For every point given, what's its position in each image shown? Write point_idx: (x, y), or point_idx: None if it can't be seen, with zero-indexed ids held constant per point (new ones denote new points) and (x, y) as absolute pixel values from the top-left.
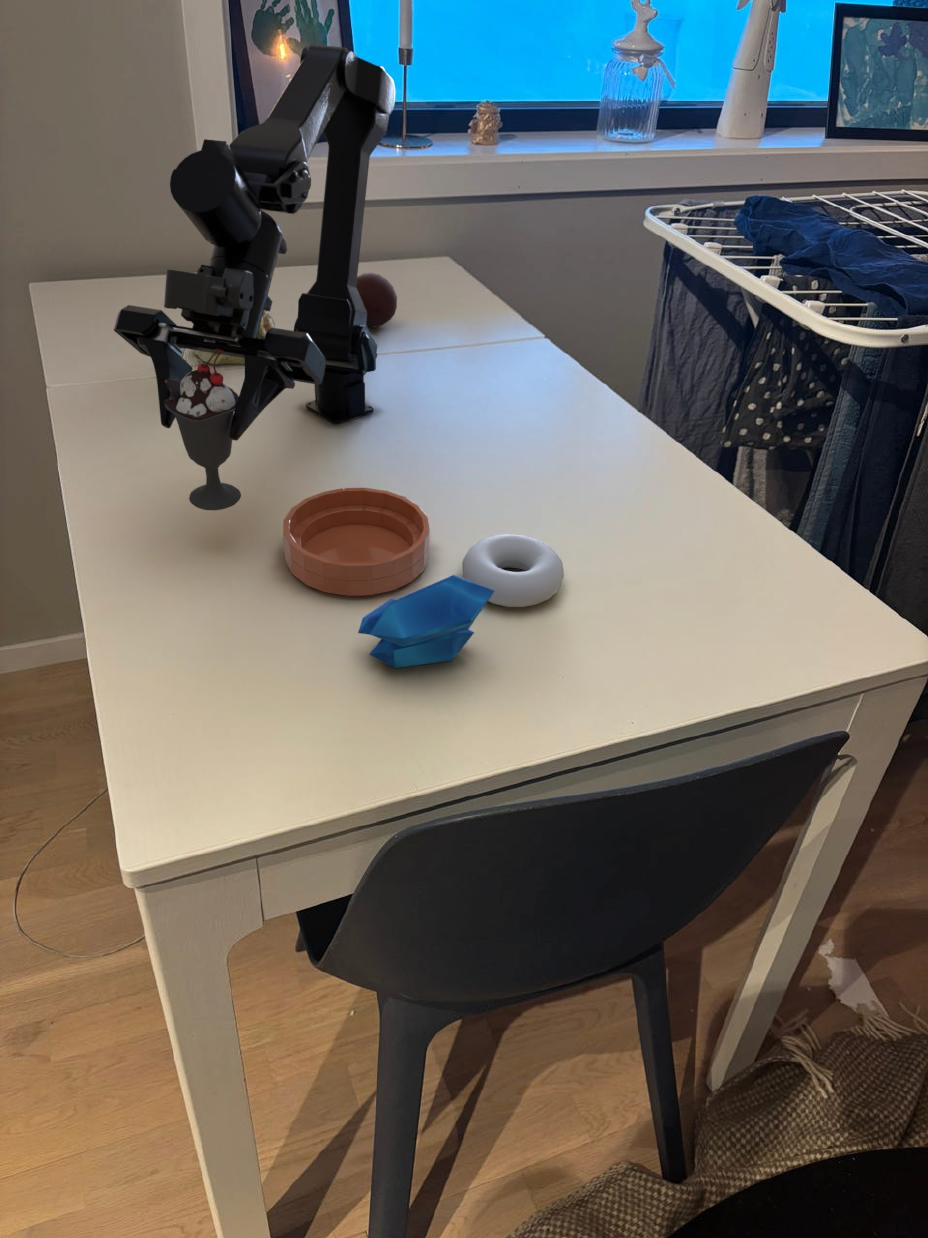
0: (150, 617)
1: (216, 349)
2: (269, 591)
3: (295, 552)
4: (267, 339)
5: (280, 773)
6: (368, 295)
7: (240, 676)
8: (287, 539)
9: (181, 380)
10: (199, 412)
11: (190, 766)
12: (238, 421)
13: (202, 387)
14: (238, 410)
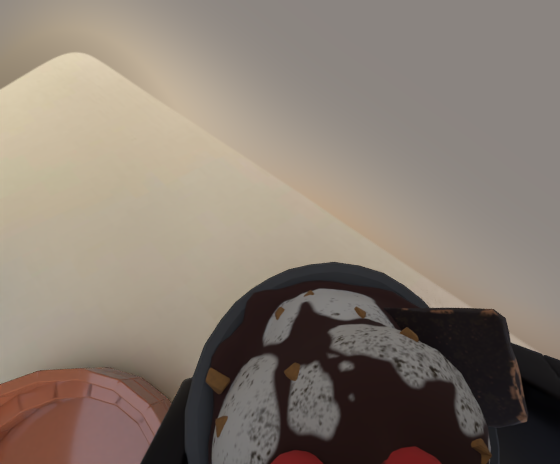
0: (248, 218)
1: None
2: (157, 332)
3: (108, 374)
4: None
5: (7, 131)
6: None
7: (104, 198)
8: (131, 389)
9: (457, 372)
10: (276, 317)
11: (86, 108)
12: (166, 422)
13: (309, 373)
14: (167, 455)
